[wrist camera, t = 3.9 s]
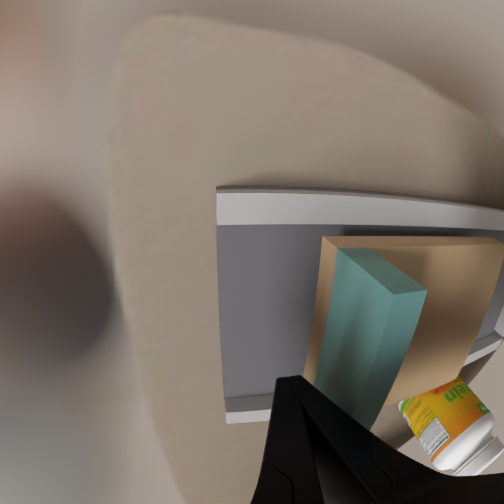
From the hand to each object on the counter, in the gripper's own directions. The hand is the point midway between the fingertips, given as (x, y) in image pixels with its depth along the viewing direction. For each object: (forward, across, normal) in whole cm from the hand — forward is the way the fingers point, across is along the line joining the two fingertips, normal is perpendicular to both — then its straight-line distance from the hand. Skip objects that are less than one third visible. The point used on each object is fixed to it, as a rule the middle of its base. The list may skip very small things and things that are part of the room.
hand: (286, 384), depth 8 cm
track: (+4, -9, 0) cm, 10 cm away
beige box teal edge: (+3, -6, 0) cm, 7 cm away
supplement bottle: (+5, -14, +9) cm, 17 cm away
